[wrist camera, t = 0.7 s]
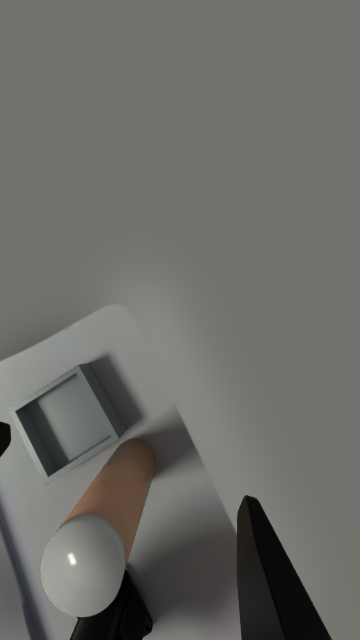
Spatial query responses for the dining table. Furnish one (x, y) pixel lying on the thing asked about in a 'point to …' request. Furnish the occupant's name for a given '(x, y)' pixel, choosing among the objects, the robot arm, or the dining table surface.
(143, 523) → the dining table surface
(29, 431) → the tray
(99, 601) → the brown cylinder grey top
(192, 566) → the dining table surface
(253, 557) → the robot arm
